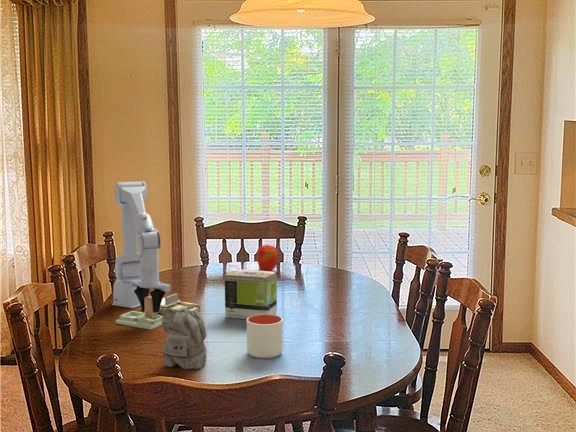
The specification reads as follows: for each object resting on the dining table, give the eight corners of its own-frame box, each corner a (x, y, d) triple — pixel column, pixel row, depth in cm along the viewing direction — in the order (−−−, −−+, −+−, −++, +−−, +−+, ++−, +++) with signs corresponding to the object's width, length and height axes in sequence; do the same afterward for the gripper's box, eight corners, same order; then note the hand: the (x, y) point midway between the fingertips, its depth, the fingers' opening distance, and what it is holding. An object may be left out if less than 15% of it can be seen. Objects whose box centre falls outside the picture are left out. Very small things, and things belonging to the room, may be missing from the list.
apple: (257, 273, 290) (257, 245, 288) (256, 269, 298) (255, 241, 297) (279, 273, 290) (279, 245, 289) (277, 268, 299) (277, 241, 298)
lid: (143, 303, 236) (142, 295, 236) (157, 298, 243) (157, 289, 243) (165, 307, 232) (165, 298, 231) (180, 301, 239) (179, 293, 238)
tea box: (277, 313, 232) (277, 270, 230) (266, 322, 222) (266, 277, 220) (236, 309, 237) (235, 267, 234) (224, 317, 227) (223, 274, 225)
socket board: (115, 323, 221) (115, 316, 220) (134, 316, 229) (134, 309, 228) (150, 329, 214) (150, 322, 214) (168, 321, 222) (168, 315, 222)
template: (142, 310, 235) (142, 305, 235) (160, 303, 244) (160, 298, 244) (183, 317, 228) (182, 311, 227) (200, 309, 236) (200, 304, 236)
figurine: (174, 355, 191) (173, 303, 189) (211, 359, 188) (211, 306, 186) (157, 368, 182) (155, 313, 180) (196, 373, 179) (195, 317, 176)
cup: (246, 348, 198) (246, 314, 196) (281, 347, 198) (281, 313, 197) (247, 360, 188) (247, 325, 186) (284, 359, 189) (284, 324, 187)
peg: (142, 316, 219) (141, 298, 218) (149, 313, 222) (148, 295, 221) (152, 318, 217) (152, 299, 216) (159, 314, 221) (159, 296, 220)
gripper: (123, 269, 217) (124, 311, 219) (160, 274, 210) (161, 317, 212) (137, 264, 223) (138, 305, 225) (174, 269, 217) (175, 311, 219)
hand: (150, 310), depth 219 cm, fingers closed on peg, 4 cm apart
